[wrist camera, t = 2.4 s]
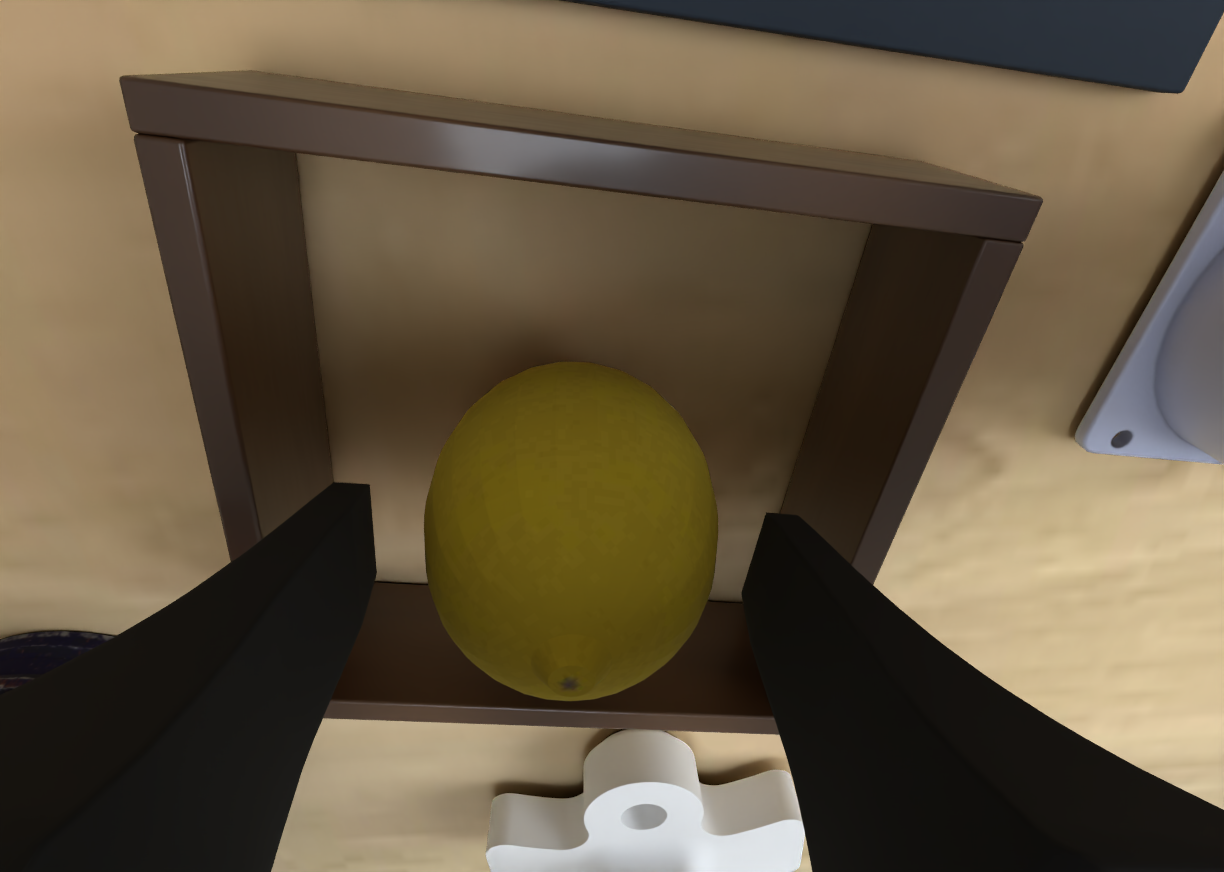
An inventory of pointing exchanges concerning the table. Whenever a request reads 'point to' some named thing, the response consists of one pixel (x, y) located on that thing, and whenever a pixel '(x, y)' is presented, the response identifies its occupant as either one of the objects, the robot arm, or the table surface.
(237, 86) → the wooden frame
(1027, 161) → the table surface
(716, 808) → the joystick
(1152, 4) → the mat
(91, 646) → the dark navy cylinder
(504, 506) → the lemon
